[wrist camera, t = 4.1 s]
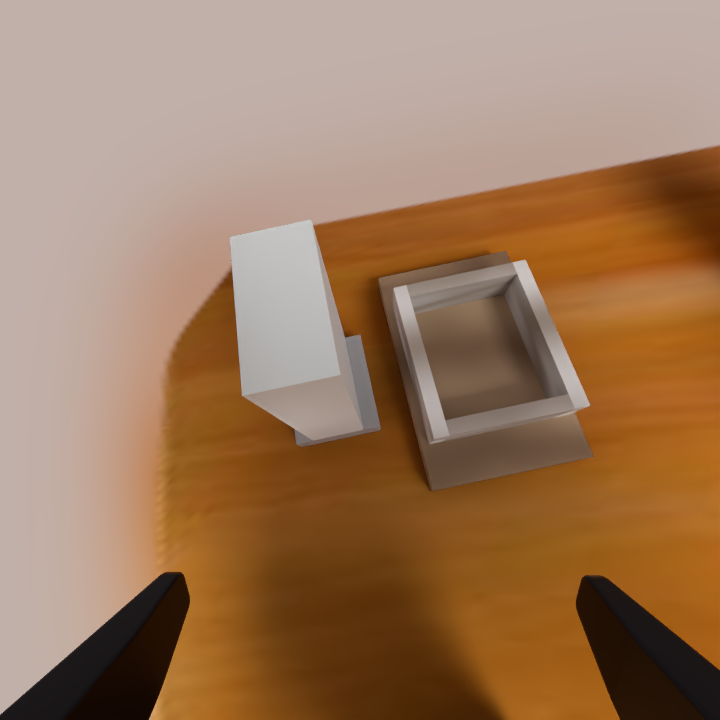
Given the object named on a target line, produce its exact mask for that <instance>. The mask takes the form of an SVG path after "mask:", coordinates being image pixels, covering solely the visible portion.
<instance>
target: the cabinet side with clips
mask: <svg viewBox="0 0 720 720" xmlns="http://www.w3.org/2000/svg"><path fill="white" fill-rule="evenodd" d="M378 282H379V291H380V294H381V298H382V302H383V306H384V310H385V314H386V318H387V322H388V326H389V330H390V334H391V338H392V342H393V346H394V350H395V354H396V358H397V362H398V366H399V369H400V373H401V377H402V381H403V385H404V389H405V393H406V397H407V401H408V405H409V409H410V413H411V417H412V421H413V425H414V429H415V433H416V437H417V440H418V444H419V448H420V452H421V456H422V460H423V464H424V468H425V472H426V476H427V480H428V484H429V488H430V491H435V490H440V489H445V488H449V487H454V486H459V485H463V484H468V483H473V482H478V481H482V480H487V479H492V478H496V477H501V476H506V475H511V474H515V473H520V472H525V471H529V470H534V469H539V468H544V467H548V466H553V465H558V464H562V463H567V462H572V461H577V460H581V459H586V458H591V457H594V456H593V454H592V451H591V449H590V447H589V444H588V442H587V440H586V437H585V435H584V433H583V430H582V428H581V426H580V423H579V421H578V418H577V416H576V414H575V412H576V411H579V410H581V409H584V408H586V407H589V406H590V403H589V401H588V399H587V397H586V394H585V392H584V390H583V388H582V385H581V383H580V381H579V379H578V376H577V374H576V372H575V370H574V368H573V365H572V363H571V361H570V359H569V356H568V354H567V352H566V350H565V347H564V345H563V343H562V341H561V338H560V336H559V334H558V332H557V329H556V327H555V325H554V323H553V320H552V318H551V316H550V314H549V311H548V309H547V307H546V305H545V302H544V300H543V298H542V296H541V293H540V291H539V289H538V287H537V284H536V282H535V280H534V278H533V275H532V273H531V271H530V269H529V267H528V264H527V262H526V260H522V261H517V262H512V263H511V261H510V259H509V257H508V254H507V252H506V251H503V252H498V253H494V254H489V255H484V256H480V257H475V258H470V259H466V260H461V261H456V262H452V263H447V264H442V265H437V266H433V267H428V268H423V269H419V270H414V271H409V272H405V273H400V274H395V275H391V276H386V277H381V278H378Z"/></svg>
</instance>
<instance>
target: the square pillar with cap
mask: <svg viewBox="0 0 720 720" xmlns="http://www.w3.org/2000/svg"><path fill="white" fill-rule="evenodd" d="M230 248H231V261H232V274H233V286H234V299H235V312H236V325H237V338H238V350H239V363H240V376H241V389H242V396H243V397H245V398H246V399H248V400H249V401H251V402H253V403H254V404H256V405H257V406H259V407H261V408H262V409H264V410H265V411H267V412H269V413H270V414H272V415H273V416H275V417H276V418H278V419H280V420H281V421H283V422H284V423H286V424H288V425H289V426H291V427H292V428H294V431H295V438H296V444H297V445H299V446H301V447H305V446H309V445H314V444H319V443H323V442H328V441H333V440H338V439H342V438H347V437H352V436H356V435H361V434H366V433H370V432H375V431H380V430H381V427H380V422H379V418H378V413H377V409H376V404H375V399H374V395H373V390H372V386H371V381H370V377H369V372H368V367H367V363H366V358H365V354H364V349H363V345H362V340H361V335H355V336H351V337H346V338H345V336H344V332H343V329H342V325H341V322H340V318H339V315H338V311H337V308H336V304H335V301H334V297H333V294H332V290H331V287H330V283H329V280H328V276H327V273H326V269H325V266H324V262H323V259H322V255H321V252H320V248H319V245H318V241H317V238H316V234H315V231H314V227H313V224H312V220H306V221H301V222H297V223H292V224H287V225H283V226H278V227H274V228H269V229H264V230H260V231H255V232H250V233H245V234H240V235H237V236H231V237H230Z"/></svg>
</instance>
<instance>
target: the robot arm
mask: <svg viewBox="0 0 720 720" xmlns="http://www.w3.org/2000/svg"><path fill="white" fill-rule="evenodd" d="M189 604H190V595H189V592H188V588H187V584H186V581H185V577H184V575H183V574H182V573H181V572H165V573H163V574H161V575H160V576H159V577H158V578H156V579H155V580H154V581H153V582H152V583H151V584H150V585H148V586H147V587H146V588H145V589H144V590H143V591H142V592H140V593H139V594H138V595H137V596H136V597H135V598H134V599H132V600H131V601H130V602H129V603H128V604H127V605H126V606H124V607H123V608H122V609H121V610H120V611H119V612H117V613H116V614H115V615H114V616H113V617H112V618H111V619H110V620H108V621H107V622H106V623H105V624H104V625H103V626H101V627H100V628H99V629H98V630H97V631H96V632H95V633H93V634H92V635H91V636H90V637H89V638H88V639H87V640H85V641H84V642H83V643H82V644H81V645H80V646H78V647H77V648H76V649H75V650H74V651H73V652H72V653H70V654H69V655H68V656H67V657H66V658H65V659H64V660H62V661H61V662H60V663H59V664H58V665H57V666H56V667H54V669H52V670H51V671H50V672H49V673H48V674H47V675H45V676H44V677H43V678H42V679H41V680H40V681H39V682H37V683H36V684H35V685H34V686H33V687H32V688H30V689H29V690H28V691H27V692H26V693H25V694H23V695H22V696H21V697H20V698H19V699H18V700H17V701H15V702H14V703H13V704H12V705H11V706H10V707H9V708H8V709H6V710H5V711H4V712H3V713H2V714H1V715H0V720H149V718H150V715H151V713H152V711H153V708H154V706H155V704H156V701H157V699H158V696H159V694H160V691H161V688H162V686H163V683H164V680H165V677H166V674H167V671H168V668H169V665H170V662H171V659H172V656H173V653H174V650H175V647H176V644H177V641H178V638H179V635H180V632H181V629H182V626H183V623H184V620H185V617H186V614H187V611H188V608H189ZM576 609H577V612H578V615H579V618H580V620H581V623H582V626H583V628H584V631H585V633H586V636H587V639H588V641H589V644H590V646H591V649H592V652H593V654H594V657H595V659H596V662H597V665H598V667H599V670H600V672H601V675H602V678H603V680H604V683H605V685H606V688H607V690H608V693H609V695H610V698H611V700H612V702H613V705H614V707H615V709H616V711H617V713H618V715H619V718H620V720H720V670H719V669H718V668H716V667H715V666H714V665H713V664H712V663H710V662H709V661H708V660H707V659H705V658H704V657H703V656H702V655H700V654H699V653H698V652H697V651H696V650H694V649H693V648H692V647H691V646H689V645H688V644H687V643H686V642H685V641H683V640H682V639H681V638H680V637H678V636H677V635H676V634H675V633H674V632H672V631H671V630H670V629H669V628H667V627H666V626H665V625H664V624H662V623H661V622H660V621H659V620H658V619H656V618H655V617H654V616H653V615H651V614H650V613H649V612H648V611H647V610H645V609H644V608H643V607H642V606H640V605H639V604H638V603H637V602H636V601H634V600H633V599H632V598H631V597H629V596H628V595H627V594H626V593H625V592H623V591H622V590H621V589H620V588H618V587H617V586H616V585H615V584H613V583H612V582H611V581H610V580H609V579H607V578H605V577H604V576H600V575H585V576H584V577H582V579H581V583H580V587H579V590H578V594H577V598H576Z"/></svg>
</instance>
